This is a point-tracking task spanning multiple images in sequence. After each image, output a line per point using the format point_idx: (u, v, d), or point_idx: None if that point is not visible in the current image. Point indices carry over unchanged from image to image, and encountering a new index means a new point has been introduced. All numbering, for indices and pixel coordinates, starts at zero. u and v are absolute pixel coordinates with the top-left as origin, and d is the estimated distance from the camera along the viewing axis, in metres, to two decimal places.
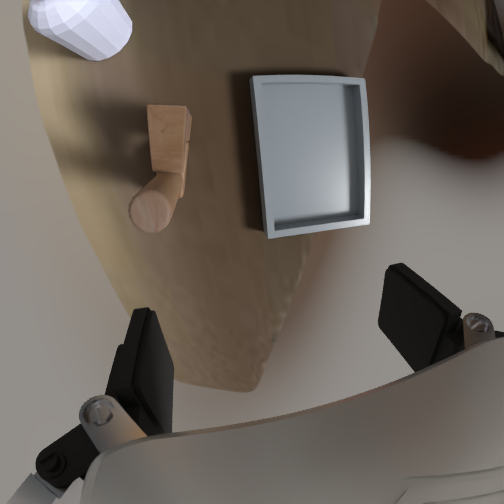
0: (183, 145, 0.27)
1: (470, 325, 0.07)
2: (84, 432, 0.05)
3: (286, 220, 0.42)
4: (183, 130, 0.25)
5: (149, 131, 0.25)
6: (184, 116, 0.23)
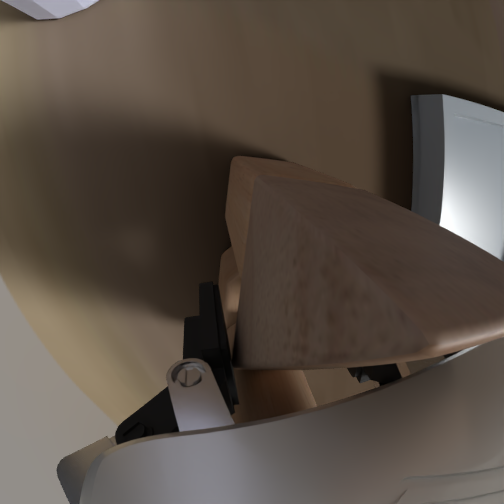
0: None
1: None
2: (168, 398, 0.07)
3: None
4: None
5: (288, 369, 0.05)
6: None
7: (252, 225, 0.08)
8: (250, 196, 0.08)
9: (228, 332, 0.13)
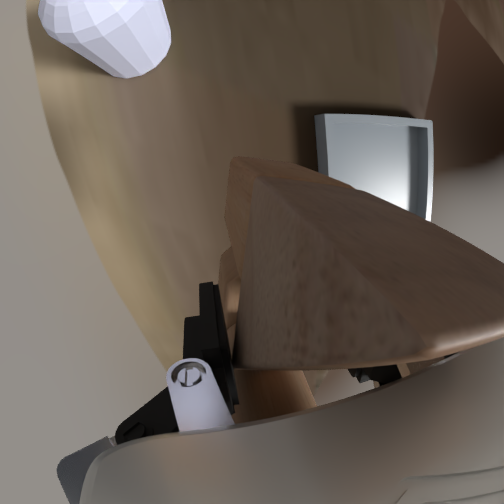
0: None
1: None
2: (168, 398, 0.07)
3: None
4: None
5: (287, 370, 0.05)
6: None
7: (251, 226, 0.08)
8: (249, 197, 0.08)
9: (228, 332, 0.13)
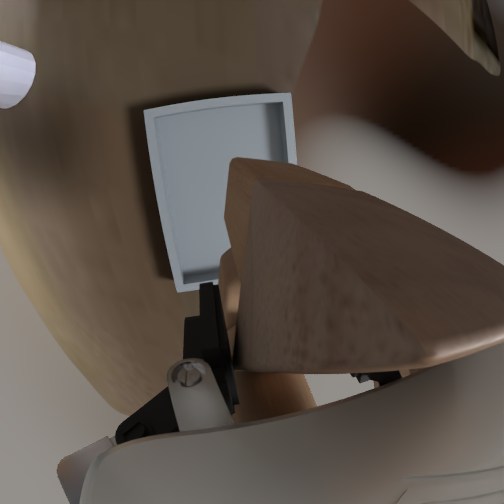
0: None
1: None
2: (168, 398, 0.07)
3: (200, 270, 0.37)
4: None
5: (288, 372, 0.05)
6: None
7: (251, 228, 0.08)
8: (249, 199, 0.08)
9: (228, 333, 0.13)
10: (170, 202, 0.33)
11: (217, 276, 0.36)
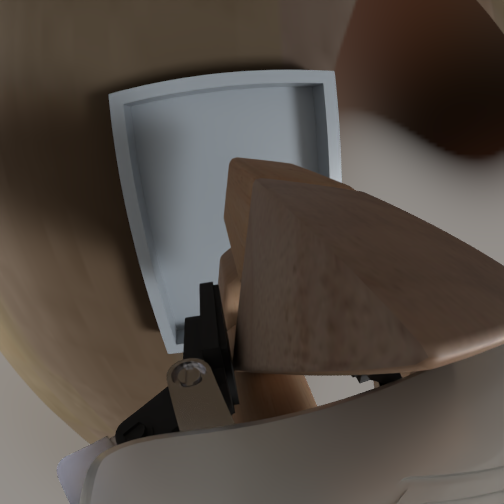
0: None
1: None
2: (168, 398, 0.07)
3: None
4: None
5: (288, 374, 0.05)
6: None
7: (251, 229, 0.08)
8: (249, 199, 0.08)
9: (228, 334, 0.13)
10: (153, 231, 0.22)
11: None
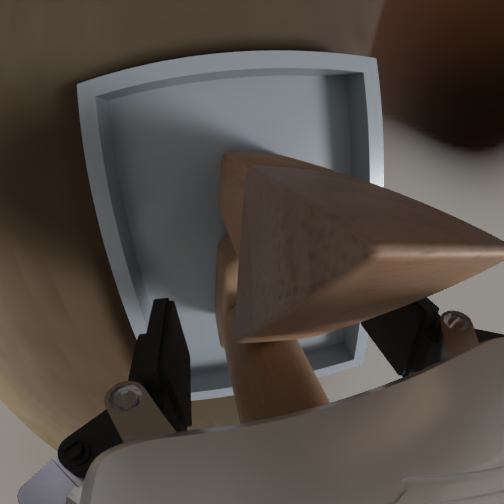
0: None
1: (448, 324, 0.07)
2: (108, 419, 0.06)
3: (201, 366, 0.21)
4: (416, 300, 0.06)
5: (284, 317, 0.06)
6: (470, 276, 0.05)
7: (246, 208, 0.09)
8: (242, 184, 0.09)
9: (228, 314, 0.15)
10: (140, 263, 0.17)
11: (230, 380, 0.20)
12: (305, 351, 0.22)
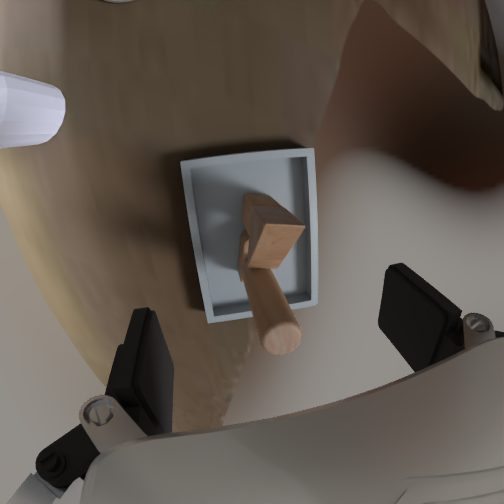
0: (288, 251, 0.29)
1: (470, 325, 0.07)
2: (84, 432, 0.05)
3: (228, 302, 0.42)
4: (294, 242, 0.27)
5: (258, 243, 0.26)
6: (300, 233, 0.25)
7: (251, 219, 0.30)
8: (250, 211, 0.30)
9: (244, 263, 0.35)
10: (203, 244, 0.38)
11: (244, 309, 0.41)
12: (285, 296, 0.43)
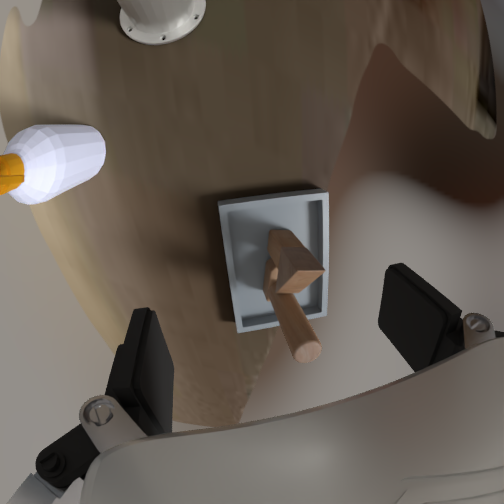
0: (309, 283, 0.37)
1: (470, 325, 0.07)
2: (84, 432, 0.05)
3: (253, 315, 0.50)
4: (315, 279, 0.35)
5: (289, 280, 0.35)
6: (321, 274, 0.33)
7: (281, 257, 0.38)
8: (279, 250, 0.38)
9: (271, 287, 0.44)
10: (234, 269, 0.46)
11: (267, 320, 0.49)
12: None
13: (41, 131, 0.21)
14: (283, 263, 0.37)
